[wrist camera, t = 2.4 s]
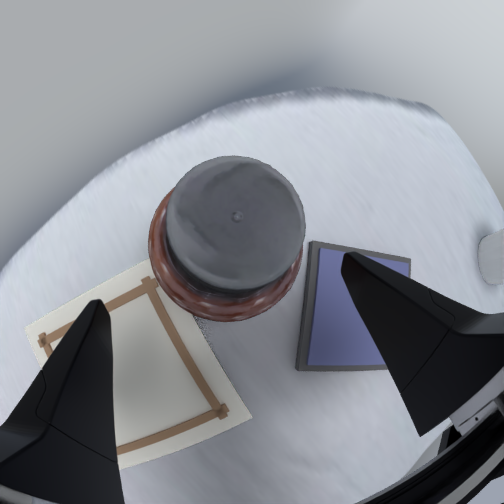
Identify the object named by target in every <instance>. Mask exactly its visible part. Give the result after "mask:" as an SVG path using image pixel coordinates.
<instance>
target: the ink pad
mask: <svg viewBox="0 0 504 504" xmlns="http://www.w3.org/2000/svg"><path fill="white" fill-rule="evenodd" d="M350 251H356V252H358V253H360V254H362V255H364V256H366V257H368V258H370V259H372V260H374V261H377V262H379V263H381V264H383V265H385V266H387V267H389V268H391V269H393V270H395V271H397V272H399V273H401V274H403V275H405V276H407V277H409V278H410V275H411V259H410V258H405V257H400V256H394V255H389V254H384V253H379V252H373V251H368V250H363V249H357V248H352V247H346V246H341V245H335V244H330V243H324V242H318V241H311V242H310V243H309V254H308V265H307V276H306V286H305V296H304V305H303V314H302V322H301V330H300V338H299V346H298V353H297V360H296V367H295V369H296V370H298V371H369V370H387V369H388V368H387V366H386V364H385V362H384V360H383V358H382V356H381V354H380V352H379V350H378V348H377V346H376V345H375V343H374V341H373V339H372V337H371V335H370V333H369V331H368V330H367V328H366V326H365V324H364V322H363V320H362V318H361V317H360V315H359V313H358V311H357V309H356V307H355V305H354V303H353V301H352V299H351V296H350V294H349V292H348V289H347V287H346V285H345V282H344V280H343V278H342V275H341V265H342V260H343V255H344V253H346V252H350Z"/></svg>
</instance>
